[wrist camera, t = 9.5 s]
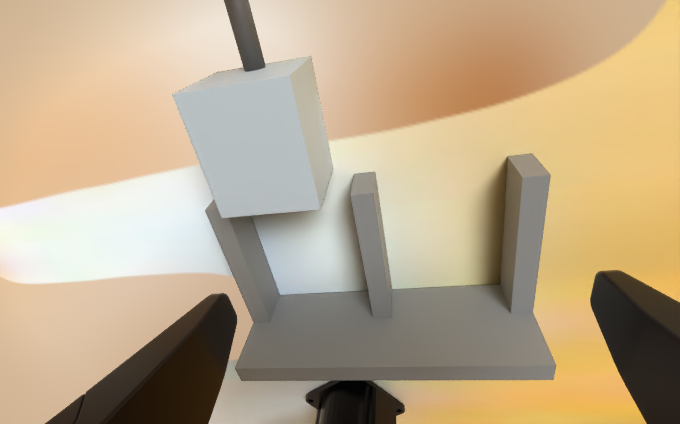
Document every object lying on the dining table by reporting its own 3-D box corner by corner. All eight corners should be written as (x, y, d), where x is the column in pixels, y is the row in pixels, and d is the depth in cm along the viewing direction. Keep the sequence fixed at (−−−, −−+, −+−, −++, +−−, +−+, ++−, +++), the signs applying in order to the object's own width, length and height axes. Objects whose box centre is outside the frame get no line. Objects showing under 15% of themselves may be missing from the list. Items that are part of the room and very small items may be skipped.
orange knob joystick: (333, 168, 20) (318, 215, 16) (251, 177, 21) (217, 223, 17) (269, -155, 14) (216, -218, 9) (153, -121, 15) (57, -165, 10)
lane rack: (518, 296, 24) (553, 379, 19) (269, 307, 27) (241, 380, 22) (532, 153, 19) (585, 215, 14) (222, 189, 22) (172, 249, 17)
